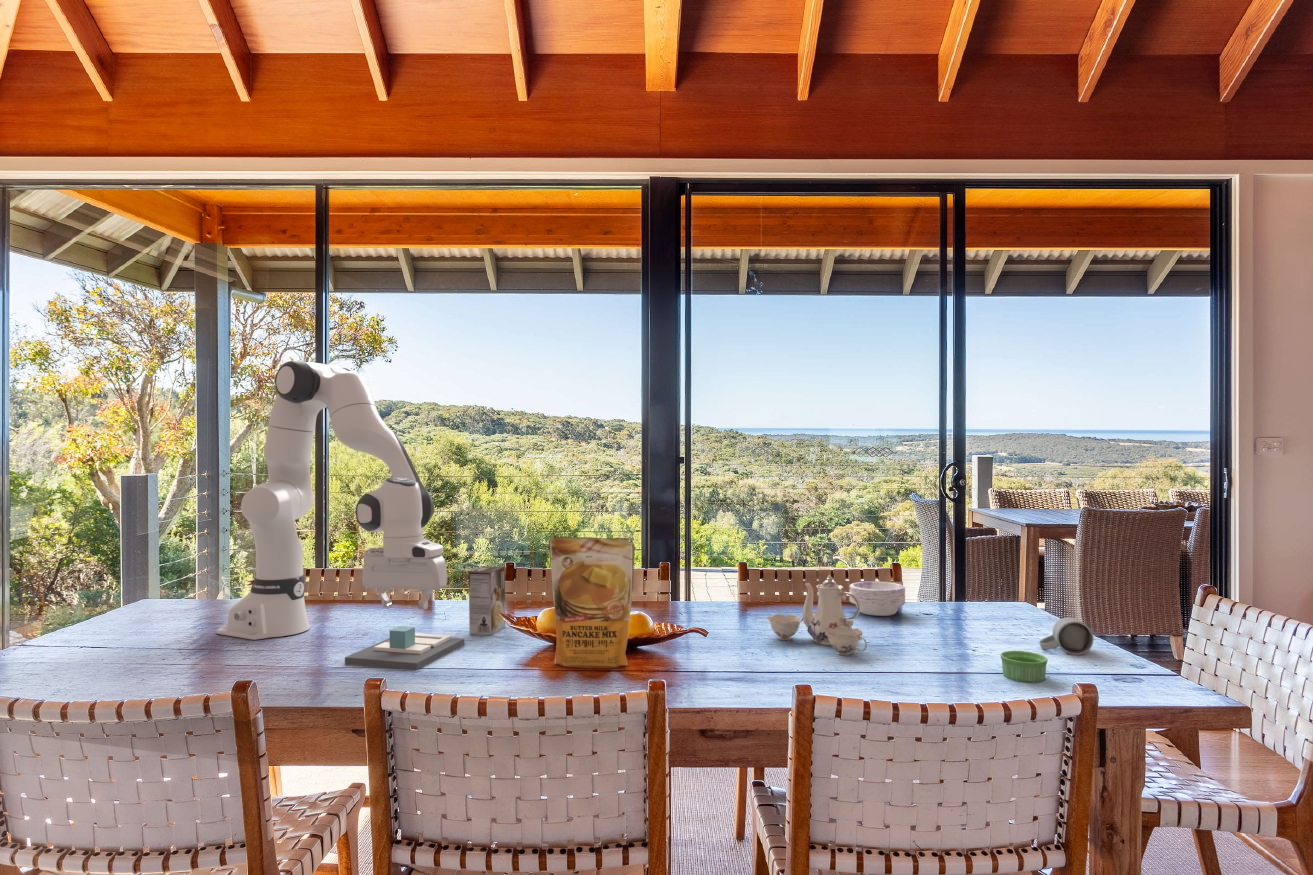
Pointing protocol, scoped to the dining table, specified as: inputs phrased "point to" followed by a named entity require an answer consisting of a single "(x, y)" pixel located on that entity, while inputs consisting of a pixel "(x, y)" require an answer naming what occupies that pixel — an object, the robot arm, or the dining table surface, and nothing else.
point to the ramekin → (1024, 666)
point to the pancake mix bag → (591, 600)
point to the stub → (402, 642)
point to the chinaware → (823, 619)
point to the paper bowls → (878, 597)
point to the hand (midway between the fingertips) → (405, 607)
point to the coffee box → (486, 600)
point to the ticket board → (407, 660)
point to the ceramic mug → (1069, 637)
